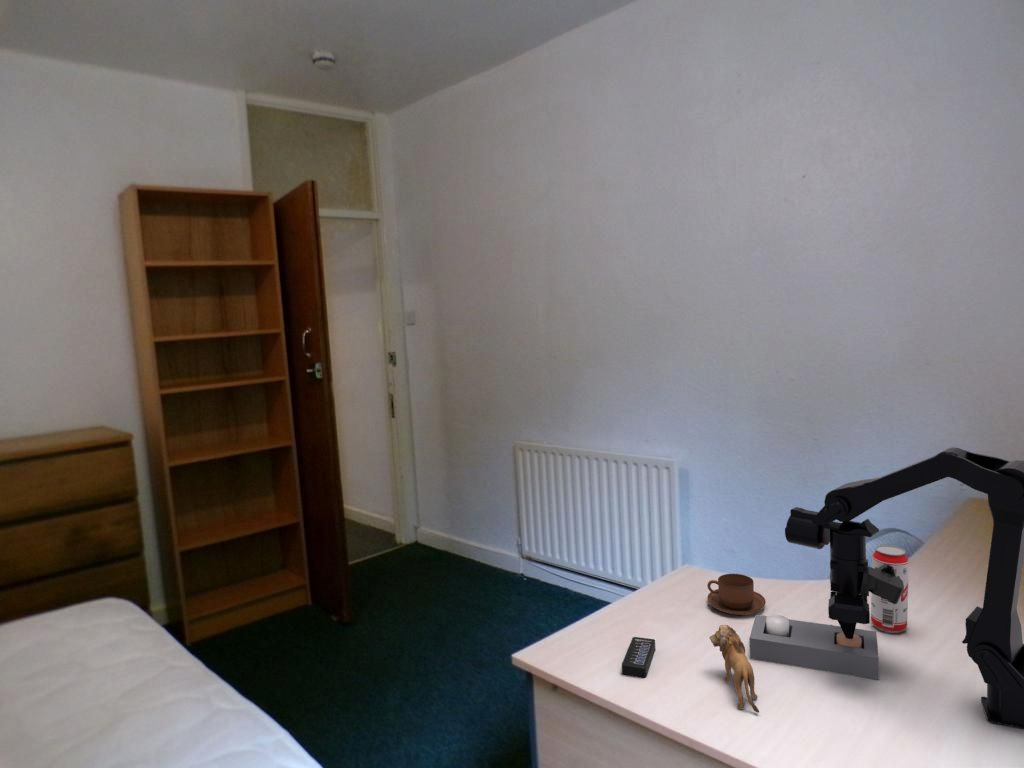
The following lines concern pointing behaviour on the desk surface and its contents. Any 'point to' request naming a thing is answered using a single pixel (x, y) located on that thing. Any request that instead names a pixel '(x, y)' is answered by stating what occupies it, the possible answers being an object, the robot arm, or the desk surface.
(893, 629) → the beer can
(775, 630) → the grey piece
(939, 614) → the desk surface
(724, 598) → the cup and saucer
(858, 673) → the plug block
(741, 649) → the lion figurine
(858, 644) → the terracotta plug
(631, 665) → the multiport hub
